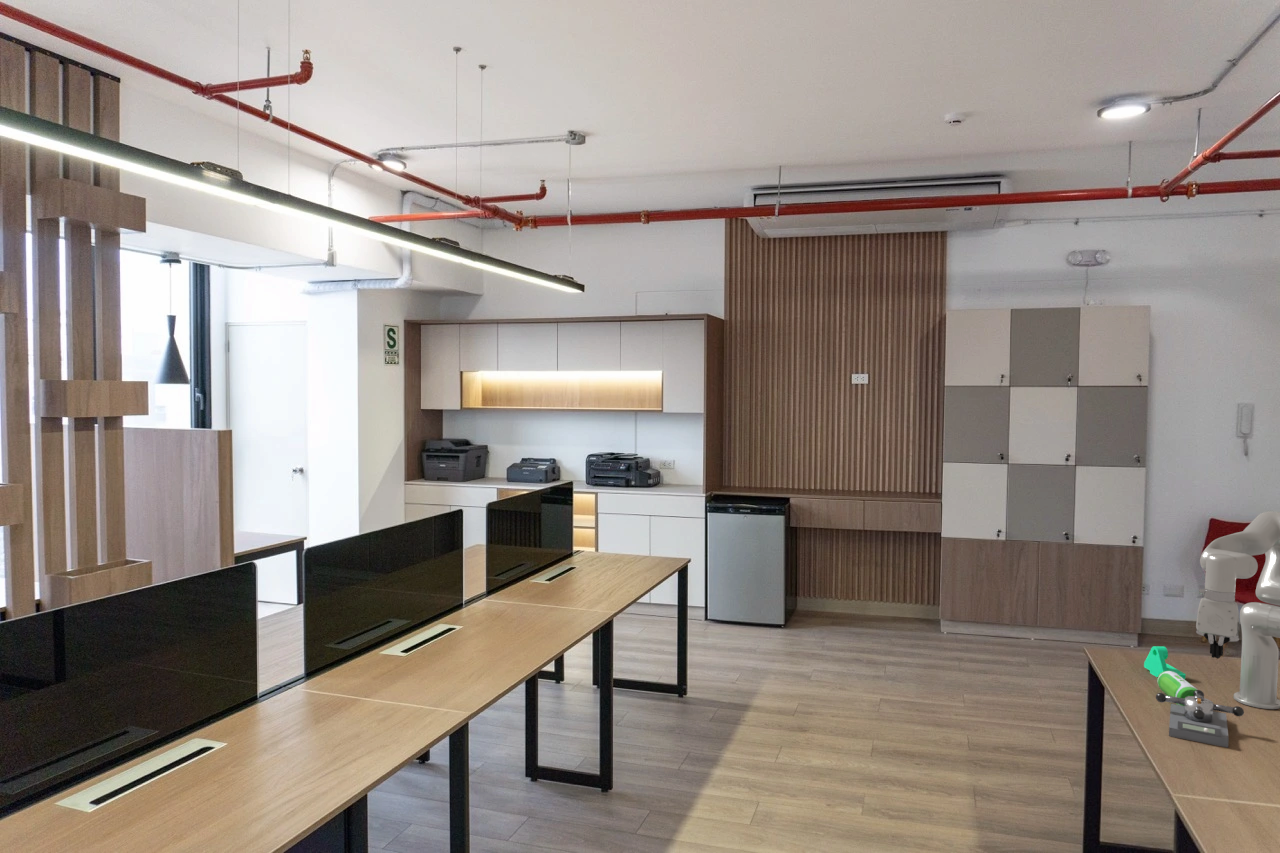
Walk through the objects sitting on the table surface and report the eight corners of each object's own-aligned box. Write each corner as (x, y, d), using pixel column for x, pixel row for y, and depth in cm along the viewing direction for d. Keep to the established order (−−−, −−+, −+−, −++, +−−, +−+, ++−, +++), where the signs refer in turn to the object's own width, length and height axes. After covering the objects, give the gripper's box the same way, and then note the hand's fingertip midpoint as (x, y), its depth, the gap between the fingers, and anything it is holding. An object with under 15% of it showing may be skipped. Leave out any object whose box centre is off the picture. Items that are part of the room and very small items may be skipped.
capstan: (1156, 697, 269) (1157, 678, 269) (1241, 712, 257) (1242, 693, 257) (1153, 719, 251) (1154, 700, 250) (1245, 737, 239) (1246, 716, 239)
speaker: (1203, 712, 264) (1204, 688, 264) (1177, 710, 266) (1178, 686, 265) (1179, 692, 282) (1180, 669, 281) (1154, 690, 283) (1155, 668, 283)
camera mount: (1186, 682, 292) (1188, 652, 291) (1163, 682, 292) (1165, 652, 291) (1165, 670, 304) (1167, 641, 303) (1143, 670, 304) (1145, 641, 303)
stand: (1170, 711, 265) (1171, 696, 264) (1225, 721, 257) (1226, 706, 257) (1168, 736, 246) (1169, 720, 245) (1228, 748, 238) (1229, 731, 238)
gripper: (1186, 593, 259) (1183, 653, 259) (1246, 603, 248) (1242, 666, 248) (1194, 589, 264) (1191, 648, 265) (1253, 599, 253) (1249, 661, 254)
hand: (1216, 657), depth 256 cm, fingers closed
